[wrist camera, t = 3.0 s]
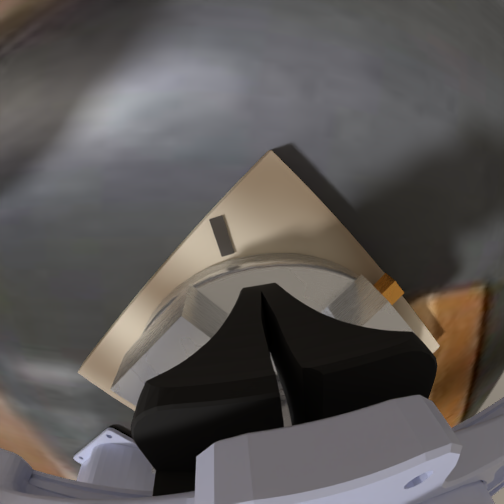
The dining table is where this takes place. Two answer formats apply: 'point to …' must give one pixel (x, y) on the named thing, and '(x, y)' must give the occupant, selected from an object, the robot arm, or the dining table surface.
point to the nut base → (244, 254)
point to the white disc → (225, 296)
